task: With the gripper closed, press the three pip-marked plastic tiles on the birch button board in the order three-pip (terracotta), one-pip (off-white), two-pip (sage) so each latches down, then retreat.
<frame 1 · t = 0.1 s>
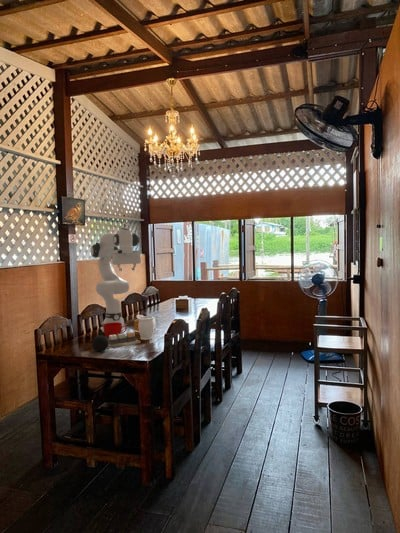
hand: (126, 270, 274), 48 cm above the table, fingers open, 8 cm apart
button one: (113, 337, 257), point 5 cm above the table, slide at 0.0 cm
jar: (146, 339, 273), on the table
button two: (121, 336, 260), point 5 cm above the table, slide at 0.0 cm
speaker: (100, 351, 243), on the table
ceramic cup: (115, 338, 277), on the table
button board: (122, 343, 261), on the table
button three: (130, 334, 264), point 5 cm above the table, slide at 0.0 cm
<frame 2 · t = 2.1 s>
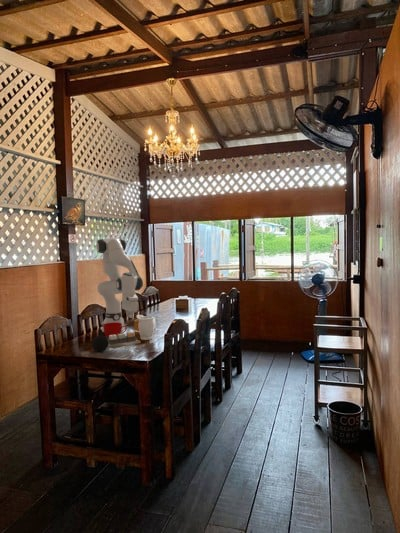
hand: (129, 317, 263), 17 cm above the table, fingers open, 3 cm apart
nothing on the table moved.
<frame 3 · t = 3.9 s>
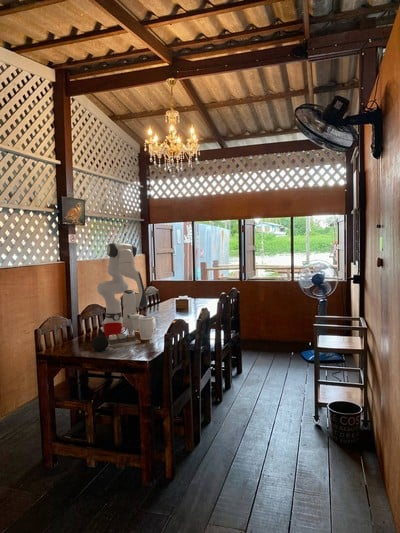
hand: (130, 334, 263), 5 cm above the table, fingers closed, pressing on button three
button three: (130, 337, 264), point 4 cm above the table, slide at 1.5 cm, touching gripper
everything else where it was.
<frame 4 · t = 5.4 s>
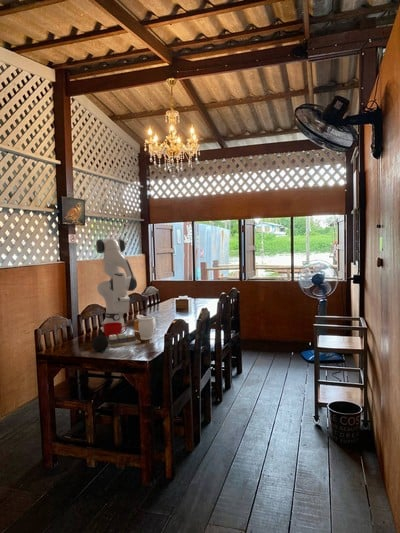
hand: (121, 318, 259), 17 cm above the table, fingers closed
button three: (130, 337, 264), point 3 cm above the table, slide at 1.8 cm
everything else where it was.
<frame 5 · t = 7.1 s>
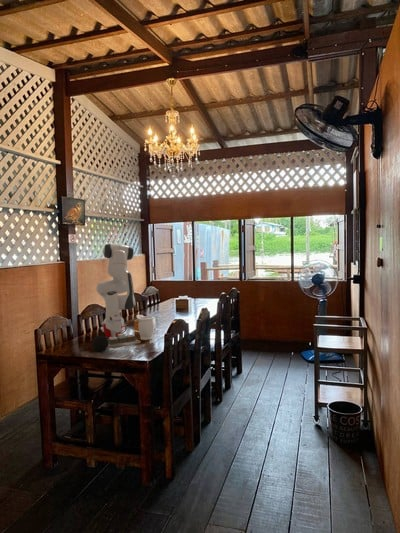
hand: (113, 337, 257), 5 cm above the table, fingers closed
button one: (113, 339, 257), point 4 cm above the table, slide at 1.3 cm, touching gripper
everything else where it was.
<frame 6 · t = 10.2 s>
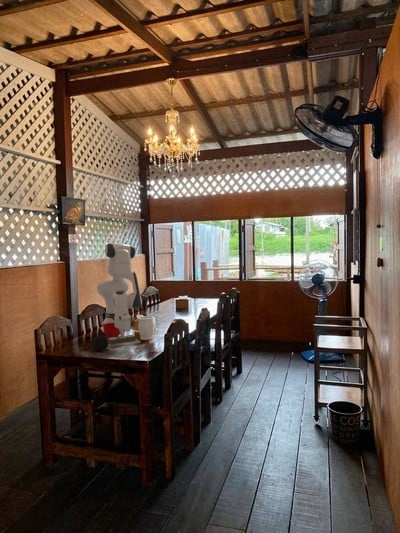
hand: (122, 335, 260), 5 cm above the table, fingers closed, pressing on button two
button one: (113, 340, 257), point 3 cm above the table, slide at 1.8 cm
button two: (121, 338, 260), point 4 cm above the table, slide at 1.4 cm, touching gripper
everything else where it was.
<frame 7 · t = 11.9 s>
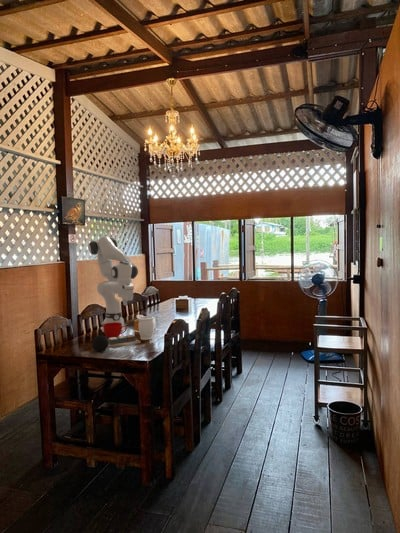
hand: (125, 305, 267), 25 cm above the table, fingers closed
button two: (121, 338, 260), point 3 cm above the table, slide at 1.8 cm
everything else where it was.
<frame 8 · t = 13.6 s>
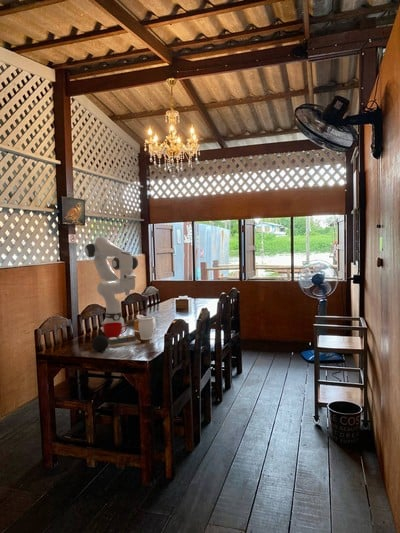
hand: (127, 295, 270), 31 cm above the table, fingers closed
nothing on the table moved.
at the end: button three slide at 1.8 cm; button one slide at 1.8 cm; button two slide at 1.8 cm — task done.
